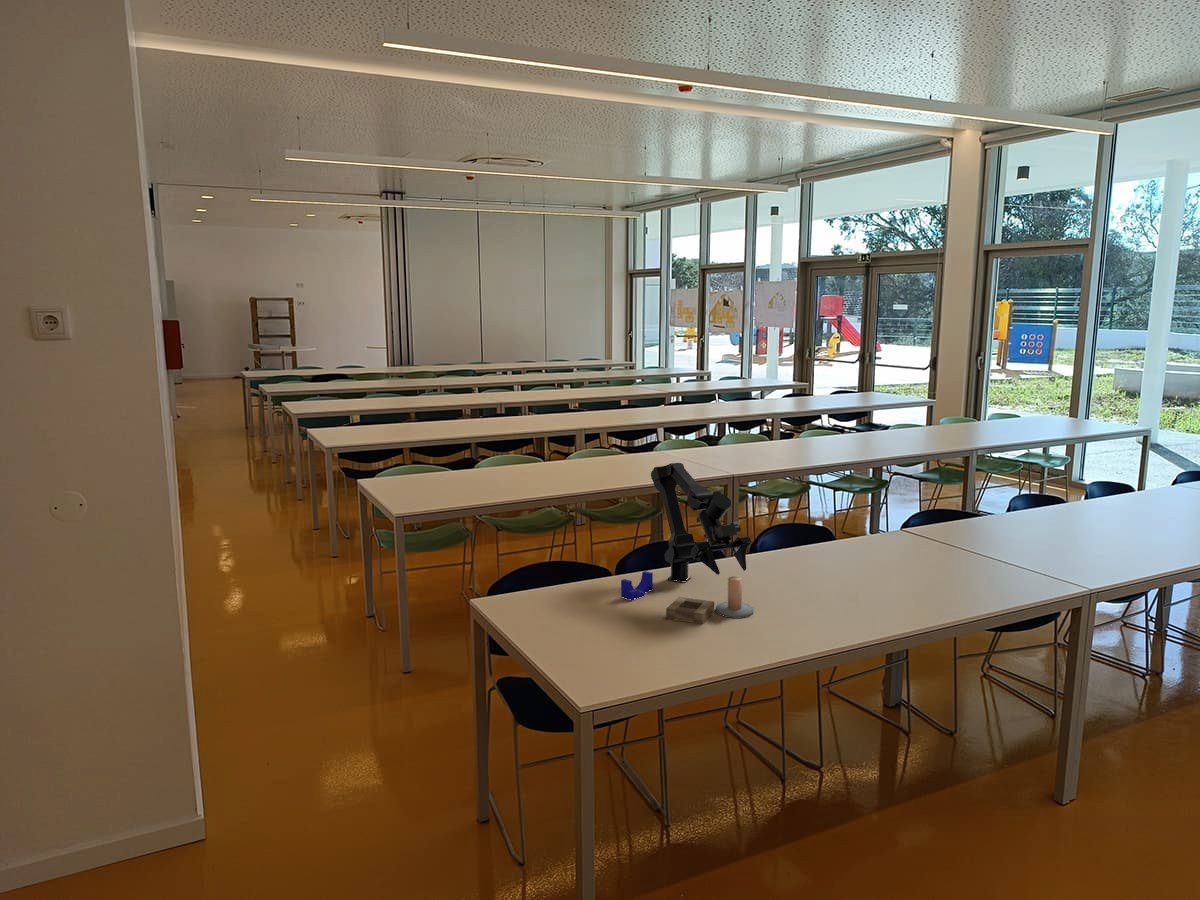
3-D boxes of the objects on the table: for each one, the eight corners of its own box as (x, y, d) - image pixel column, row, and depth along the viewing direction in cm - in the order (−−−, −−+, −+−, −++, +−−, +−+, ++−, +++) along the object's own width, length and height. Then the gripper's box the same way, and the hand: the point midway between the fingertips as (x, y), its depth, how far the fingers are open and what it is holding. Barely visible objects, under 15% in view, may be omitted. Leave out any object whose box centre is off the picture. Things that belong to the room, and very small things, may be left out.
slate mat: (721, 602, 248) (722, 599, 248) (757, 607, 243) (757, 604, 243) (711, 614, 238) (711, 611, 238) (748, 620, 233) (748, 616, 233)
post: (726, 605, 242) (727, 576, 241) (740, 605, 242) (740, 576, 241) (728, 610, 238) (729, 580, 237) (742, 610, 238) (742, 580, 237)
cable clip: (632, 601, 250) (632, 583, 249) (621, 598, 253) (621, 580, 252) (656, 591, 259) (656, 573, 258) (645, 588, 262) (645, 571, 261)
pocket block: (678, 606, 245) (679, 596, 245) (714, 611, 241) (714, 601, 240) (666, 618, 235) (666, 608, 235) (702, 623, 231) (702, 613, 230)
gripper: (696, 516, 239) (715, 562, 230) (749, 509, 246) (770, 554, 238) (682, 535, 247) (700, 581, 239) (734, 528, 254) (754, 572, 246)
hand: (732, 572), depth 240 cm, fingers open, 9 cm apart
